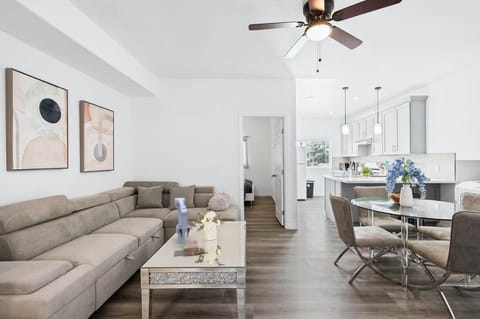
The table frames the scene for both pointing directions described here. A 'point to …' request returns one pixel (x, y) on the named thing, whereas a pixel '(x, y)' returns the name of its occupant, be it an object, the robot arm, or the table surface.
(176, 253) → the mat
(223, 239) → the table surface
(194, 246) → the stack of blocks
